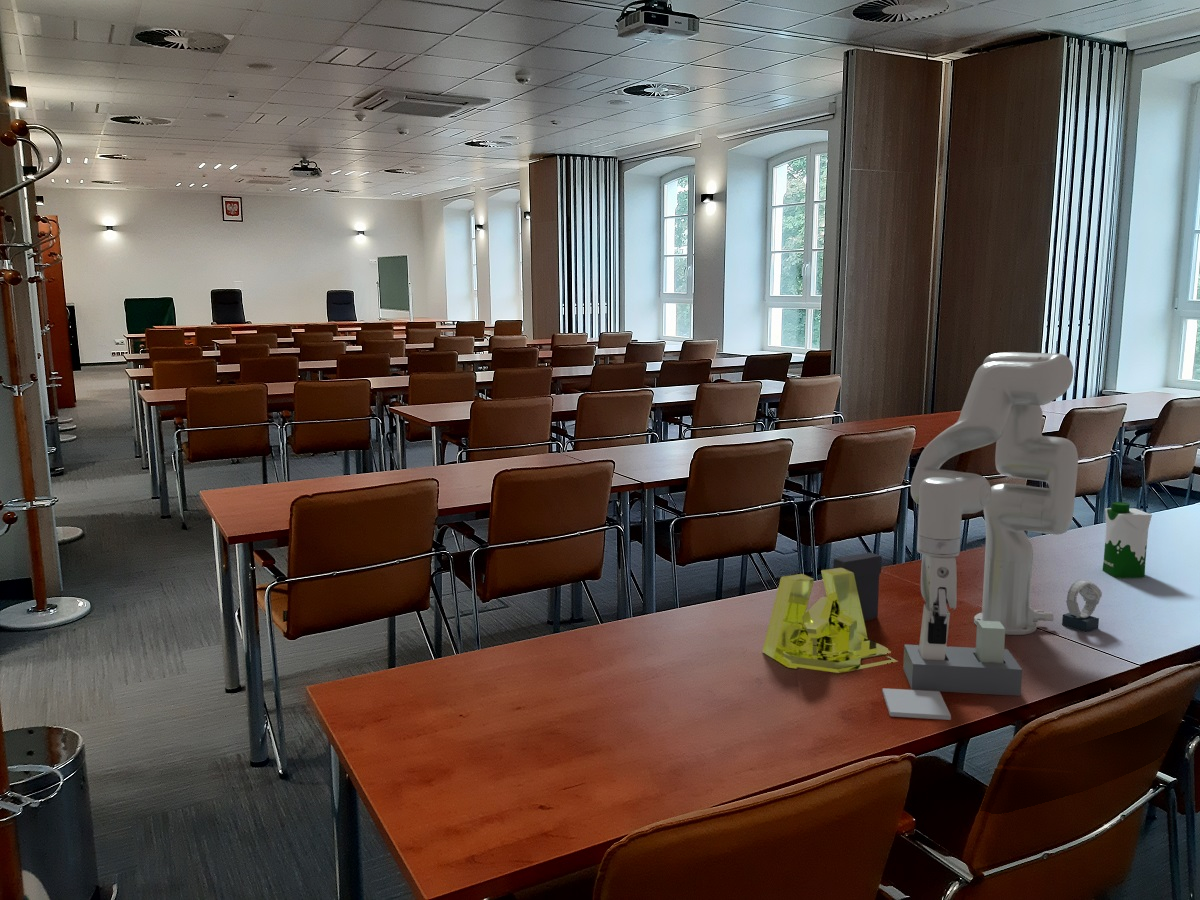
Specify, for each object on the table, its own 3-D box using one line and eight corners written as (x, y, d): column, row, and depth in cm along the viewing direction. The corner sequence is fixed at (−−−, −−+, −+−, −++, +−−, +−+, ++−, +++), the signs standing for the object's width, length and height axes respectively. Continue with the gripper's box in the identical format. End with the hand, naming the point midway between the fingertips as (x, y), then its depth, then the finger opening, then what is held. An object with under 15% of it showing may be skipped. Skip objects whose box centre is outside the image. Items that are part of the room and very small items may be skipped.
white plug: (940, 656, 174) (945, 606, 173) (944, 664, 170) (950, 613, 169) (918, 654, 175) (923, 604, 173) (921, 662, 171) (927, 611, 169)
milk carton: (1096, 574, 239) (1102, 499, 236) (1131, 574, 239) (1137, 499, 236) (1114, 584, 230) (1120, 507, 227) (1150, 584, 230) (1157, 506, 227)
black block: (866, 614, 211) (868, 551, 208) (879, 619, 207) (882, 555, 204) (829, 622, 206) (830, 557, 203) (842, 627, 202) (844, 562, 200)
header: (1006, 674, 176) (1007, 649, 175) (1020, 695, 166) (1022, 669, 165) (903, 668, 179) (904, 644, 178) (911, 689, 169) (912, 664, 168)
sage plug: (996, 672, 173) (999, 621, 171) (1002, 680, 169) (1005, 628, 168) (974, 670, 174) (977, 620, 172) (979, 679, 170) (982, 627, 168)
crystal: (756, 648, 191) (757, 576, 188) (853, 631, 200) (856, 562, 198) (809, 681, 174) (811, 602, 172) (912, 660, 184) (916, 585, 181)
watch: (1103, 630, 198) (1107, 581, 197) (1080, 637, 194) (1084, 587, 193) (1079, 623, 203) (1082, 575, 201) (1056, 629, 199) (1059, 580, 198)
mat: (939, 695, 166) (939, 691, 166) (950, 719, 157) (950, 715, 157) (882, 692, 168) (882, 688, 168) (890, 716, 158) (890, 711, 158)
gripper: (970, 557, 160) (965, 656, 163) (950, 533, 177) (946, 624, 180) (925, 556, 162) (921, 654, 165) (910, 532, 178) (906, 622, 181)
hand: (934, 637), depth 172 cm, fingers closed on white plug, 3 cm apart
